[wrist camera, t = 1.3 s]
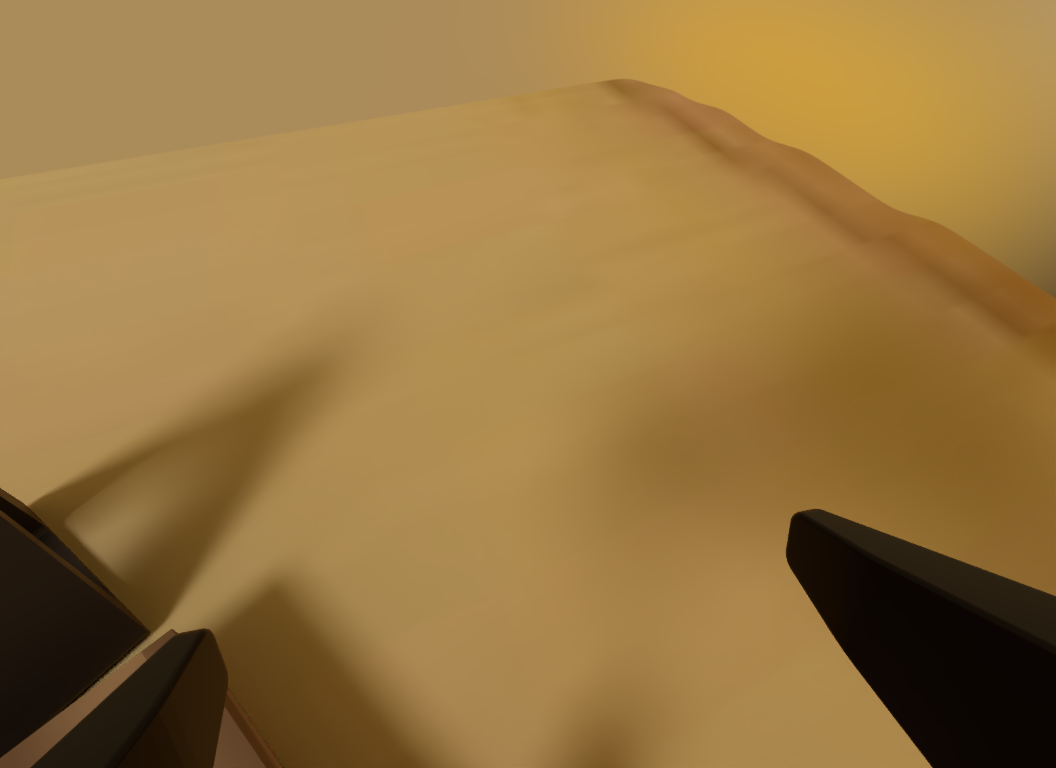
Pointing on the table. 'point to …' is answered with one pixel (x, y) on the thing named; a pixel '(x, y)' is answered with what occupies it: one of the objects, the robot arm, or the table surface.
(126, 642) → the phone stand
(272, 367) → the table surface
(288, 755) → the table surface
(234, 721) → the cradle
